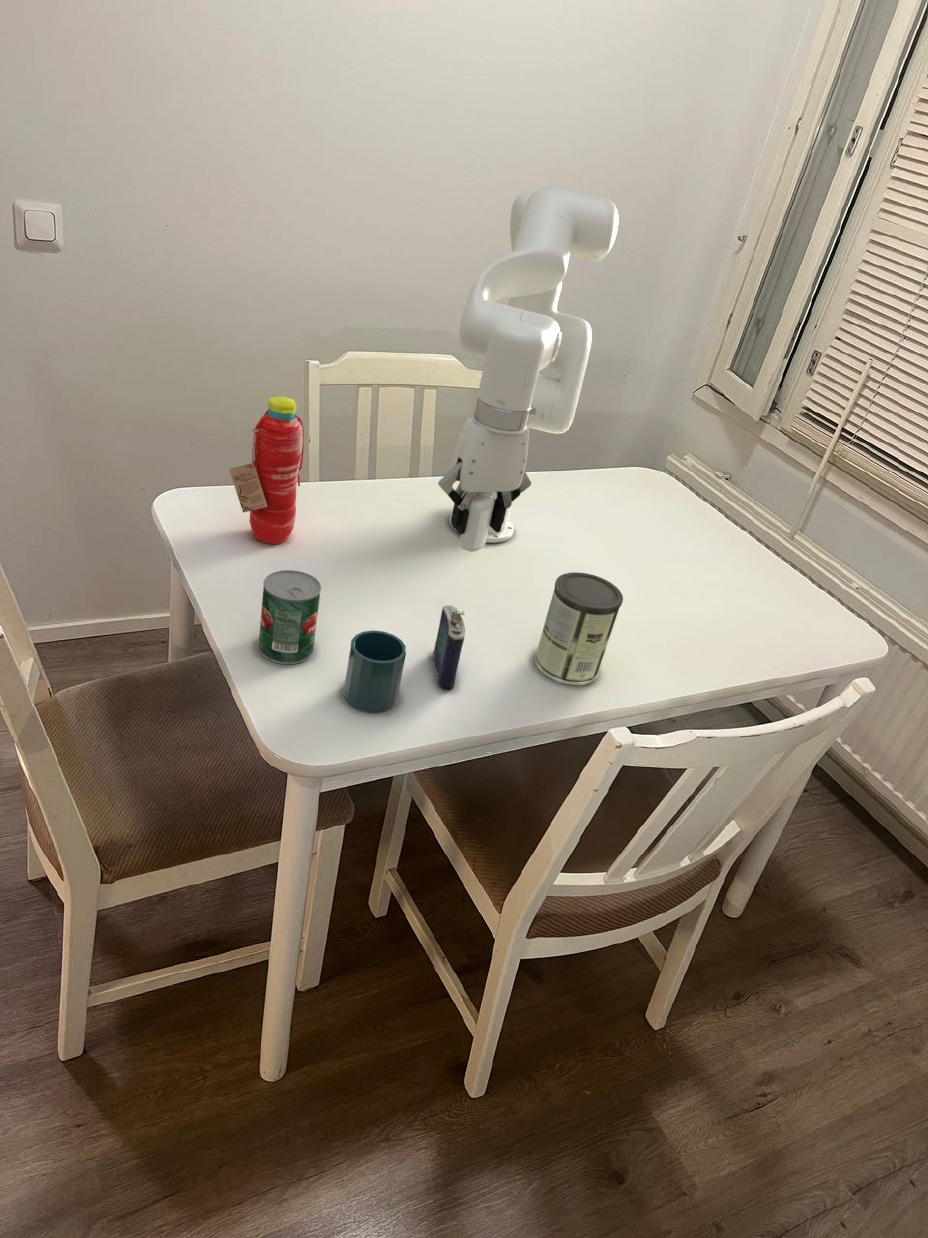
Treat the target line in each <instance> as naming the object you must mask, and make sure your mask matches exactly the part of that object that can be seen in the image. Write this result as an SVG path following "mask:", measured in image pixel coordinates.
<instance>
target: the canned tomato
mask: <svg viewBox="0 0 928 1238" xmlns="http://www.w3.org/2000/svg"><path fill="white" fill-rule="evenodd" d="M262 585H263V589H262V599H261V600H262V601H261V612H260V623H259V624H260V625H259V636H258V645H257V647H258V651H259V654H260V655H261V656H262V657H263V658H265V659H266V660H268V661H270V662H273V663H276V664H280V665H298V664H300V663H303V662H306V661H308V660H309V659H310V658H311V657H312V656H313V653H314V645H315V640H316V639H315V638H316V630H317V623H318V614H319V607H320V599H321V592H322V584H321V583H320V581H319V580H318V579H317V578H316V577H315V576H313V575H311V574H309V573H307V572H304V571H300V570H295V569H294V570H293V569H284V570H282V569H281V570H277V571H273V572H271V573H270V574H268V575H267V576H266V577H265V578H264V580H263V583H262Z"/></svg>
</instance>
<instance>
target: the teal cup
mask: <svg viewBox="0 0 928 1238" xmlns="http://www.w3.org/2000/svg"><path fill="white" fill-rule="evenodd" d="M406 656H407V646H406V644H405V643H404V642H403V640H402V639H401V638H399V637H397V636H396V635H394V634H392V633H390V632H386V631H383V630H382V631H381V630H373V629H372V630H365V631H361V632H359V633H356V634H355V635H354V637H352V639H351V640H350V645H349V652H348V658H347V659H348V660H347V665H346V666H347V667H346V673H345V680H344V685H343V697H344V700H345V701H346V702H347V704H348V705H349V706H351V707H352V708H353V709H356V710H357V711H360V712H364V713H370V714H377V713H378V714H379V713H385V712H387V711H389V710H391V709H392V708H393V707H394V706H395V705H396V704H397V700H398V698H399V692H400V687H401V681H402V677H403V671H404V666H405V661H406Z"/></svg>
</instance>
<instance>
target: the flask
mask: <svg viewBox="0 0 928 1238" xmlns="http://www.w3.org/2000/svg"><path fill="white" fill-rule="evenodd" d="M465 614H466V612H465V611H464V610H461V611H460V610H458V608H457V607H456V606H454V605H451V604H447V605H443V606H442V609H441V614H440V620H439V625H438V630H437V636H436V639H435V643H434V648H433V652H432V661H433V662H434V671H435V672H436V673H437V674H436V677H437V686H438V687H439V688H440V689H441V690H442V691H452V690H453V689H454V688H455V685H456V679H457V671H458V668H459V664H460V663H459V662H460V660H461V659H460V658H461V654H462V649H463V645H464V642H465V635H466V634H465V632H466V629H465V628H466V627H465V623H464V619H463V617H462V616H465Z"/></svg>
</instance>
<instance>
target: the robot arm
mask: <svg viewBox="0 0 928 1238" xmlns="http://www.w3.org/2000/svg"><path fill="white" fill-rule="evenodd" d="M509 220H510V221H509V235H510V245H511V252H510V253H508V254H506V255H504V256H501V257H500V258H498V259H497V260H495V261H493V262H492V263H490V264H489V265H488V266H487V267H485V268H484V269H483V270H482V271H480V273H479V274H478V275H477V277H476V278H475V279H474V281H473V283H472V285H471V288H470V290H469V293H468V296H467V300H466V302H465V305H464V309H463V312H462V316H461V320H460V324H459V328H458V329H459V331H458V336H459V343H460V346H461V347H462V349H463V350H464V351H465V352H466V353H467V354H470V355H472V356H476V357H478V358H483V359H484V363H483V366H482V367H483V368H482V372H481V378H480V382H479V387H478V391H477V396H476V401H475V407H474V411H473V416H468V417H467V418H466V421H465V422H464V424H463V427H462V429H461V432H460V434H459V437H458V440H457V443H456V446H455V450H454V452H453V455H452V460H451V464H450V469H449V470H448V471H447V473H446V474H445V475H444V476H442V478H441V479H439V481H438V482H437V485H438V487H439V488H440V489H441V490H442V491H443V492H444V493H445V494H446V495H447V496H448V498H449V499H450V500H451V501H452V502H453V508H452V511H451V512H452V513H451V515H450V517H449V524H450V526H451V528H452V529H453V530H454V531H455V532H456V533H457V534H459V535H461V534H464V533H465V529H466V525H467V520H468V515H469V510H468V509H467V506H468V504H469V502H470V500H471V498H472V497H473V495H474V493H475V492H492V495H493V496H494V497H495V504H494V508H493V513H492V517H491V521H490V526H489V530H488V534H487V539H486V542H485V543H487V544H491V543H492V544H493V543H494V544H496V543H497V544H498V543H503V542H506V541H508V540H510V539H511V538H512V537H513V534H514V529H515V527H514V525H513V523H512V522H511V521H510V520H509V518H510V513H511V509H512V506H513V502H514V501H516V499H518V498H519V497H520V496H521V494H522V493H523V492H525V491H526V490H527V489H529V488H530V487H531V486H532V481H531V480H530V477H529V476H528V474H527V472H526V466H527V465H526V464H527V459H528V452H529V443H530V441H529V440H530V438H529V437H530V429H532V430H536V431H541V432H546V433H550V434H555V435H556V434H557V435H560V434H564V433H566V432H567V431H568V430H569V429H570V428H571V426H572V424H573V421H574V418H575V415H576V411H577V407H578V403H579V399H580V395H581V390H582V387H583V383H584V379H585V374H586V371H587V370H586V369H587V366H588V362H589V359H590V358H589V357H590V353H591V347H592V342H593V341H592V340H593V332H592V328H591V325H590V323H589V322H588V321H587V320H586V319H584V318H582V317H579V316H576V315H572V314H568V313H565V312H559V311H558V309H557V308H558V304H559V299H560V295H561V291H562V286H563V281H564V280H565V277H566V274H567V270H568V266H569V261H570V257H572V258H573V257H574V258H579V259H583V260H586V261H592V262H600V261H602V260H603V259H604V258H606V257H607V256H608V255H609V253H610V251H611V250H612V248H613V246H614V243H615V240H616V236H617V233H618V227H619V212H618V209H617V206H616V204H615V203H614V202H613V201H612V200H611V199H609V198H606V197H603V196H600V195H596V194H592V193H587V192H584V191H583V192H582V191H579V190H575V189H574V190H573V189H571V188H565V187H561V186H554V185H553V186H552V185H548V186H542V187H540V188H537V189H536V190H535V191H525V192H521V193H519V194H518V195H517V196H516V197H515V199H514V201H513V203H512V205H511V210H510V219H509ZM506 299H508V301H507V305H506V304H502V303H497V302H499V301H502V300H506ZM546 368H547V369H552V370H554V371H555V372H556V373H557V375H558V378H557V377H554V376H548V375H544V374H540V371H542V370H543V369H546ZM456 482H459V483H458V484H457V486H456V489H455V488H454V487H453V485H454V484H455V483H456Z"/></svg>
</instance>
